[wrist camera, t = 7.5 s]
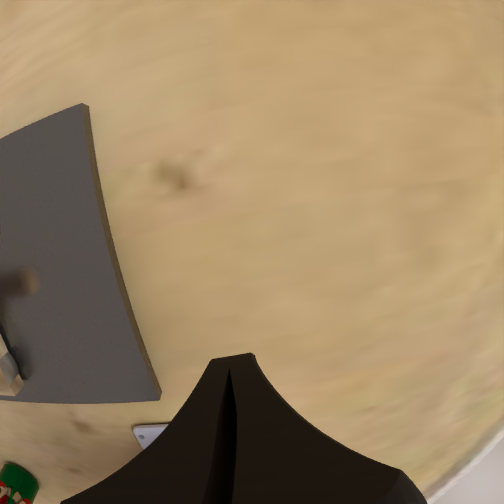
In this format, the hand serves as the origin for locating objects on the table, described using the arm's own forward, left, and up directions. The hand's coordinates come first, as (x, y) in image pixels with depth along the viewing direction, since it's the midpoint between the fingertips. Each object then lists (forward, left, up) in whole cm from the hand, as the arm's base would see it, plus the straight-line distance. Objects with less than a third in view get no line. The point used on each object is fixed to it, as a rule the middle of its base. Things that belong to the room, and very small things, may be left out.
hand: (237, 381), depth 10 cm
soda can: (-20, +30, -10) cm, 37 cm away
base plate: (+3, +16, -9) cm, 19 cm away
